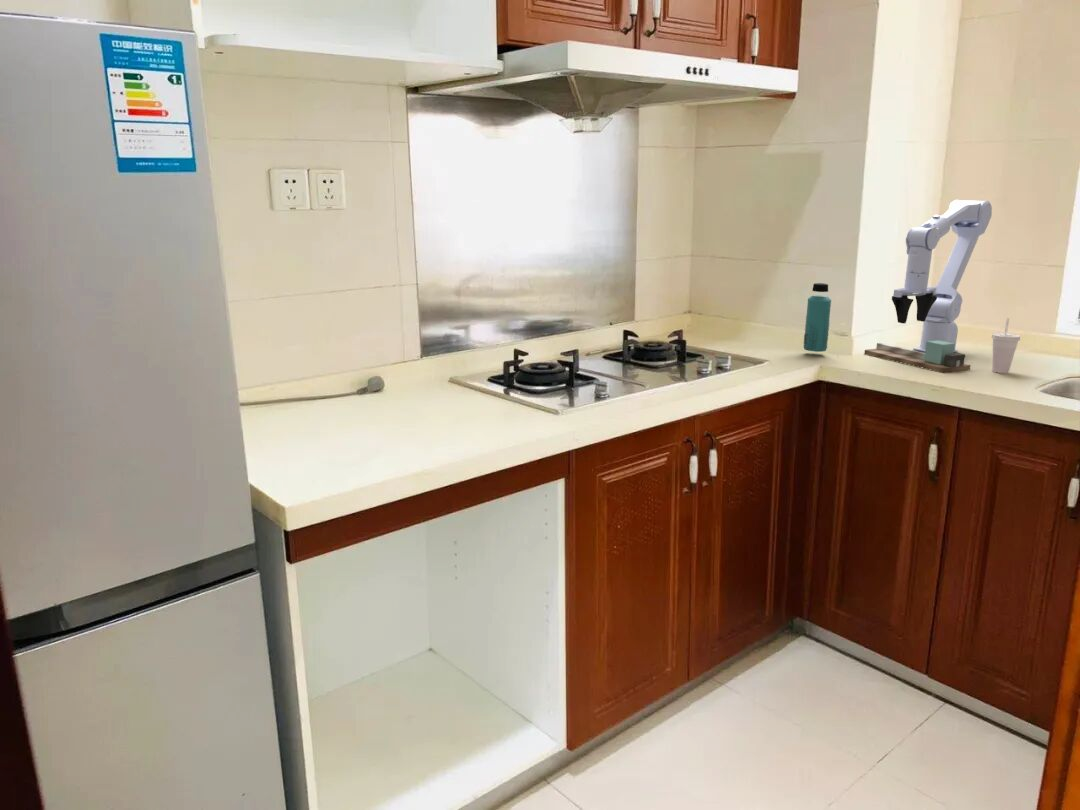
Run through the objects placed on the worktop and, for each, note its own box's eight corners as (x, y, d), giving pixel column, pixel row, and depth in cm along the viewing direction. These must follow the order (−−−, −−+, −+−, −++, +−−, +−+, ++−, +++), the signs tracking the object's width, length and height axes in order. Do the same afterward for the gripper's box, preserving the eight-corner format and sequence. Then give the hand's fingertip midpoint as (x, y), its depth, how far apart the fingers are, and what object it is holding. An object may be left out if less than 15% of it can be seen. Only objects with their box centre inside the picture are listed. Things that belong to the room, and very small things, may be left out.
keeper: (923, 360, 219) (926, 341, 217) (935, 359, 221) (938, 340, 219) (940, 364, 214) (942, 344, 213) (951, 362, 216) (954, 343, 215)
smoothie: (981, 371, 213) (990, 317, 209) (993, 368, 217) (1001, 315, 213) (1007, 375, 208) (1016, 321, 205) (1019, 372, 212) (1028, 318, 208)
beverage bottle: (831, 356, 229) (839, 284, 224) (811, 357, 227) (818, 285, 222) (817, 351, 235) (824, 281, 230) (797, 353, 233) (803, 282, 228)
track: (864, 354, 233) (866, 339, 232) (889, 351, 237) (891, 336, 236) (943, 373, 210) (946, 356, 209) (970, 369, 215) (972, 353, 214)
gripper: (911, 275, 217) (905, 326, 220) (948, 272, 223) (941, 322, 227) (889, 272, 223) (883, 322, 226) (926, 270, 229) (919, 318, 233)
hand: (911, 321), depth 227 cm, fingers open, 7 cm apart
